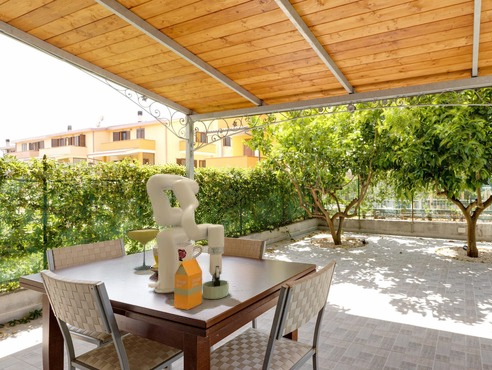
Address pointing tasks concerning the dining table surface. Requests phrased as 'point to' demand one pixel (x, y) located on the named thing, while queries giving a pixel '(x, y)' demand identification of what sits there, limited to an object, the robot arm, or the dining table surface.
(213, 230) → the robot arm
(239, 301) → the dining table surface
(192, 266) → the orange juice
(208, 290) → the bowl
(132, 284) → the dining table surface
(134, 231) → the cocktail glass
